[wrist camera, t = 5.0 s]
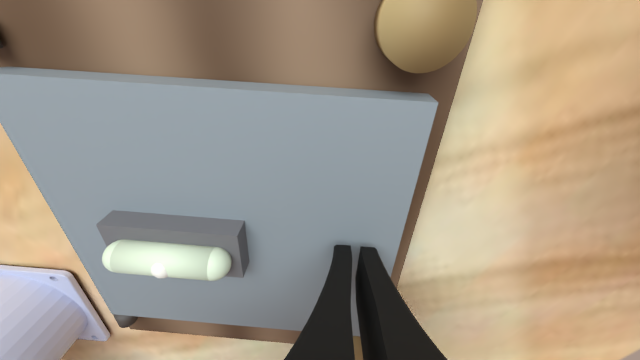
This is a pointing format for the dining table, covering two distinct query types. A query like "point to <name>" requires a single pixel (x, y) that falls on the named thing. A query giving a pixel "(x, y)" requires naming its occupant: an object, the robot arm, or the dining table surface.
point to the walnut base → (256, 65)
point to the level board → (217, 185)
